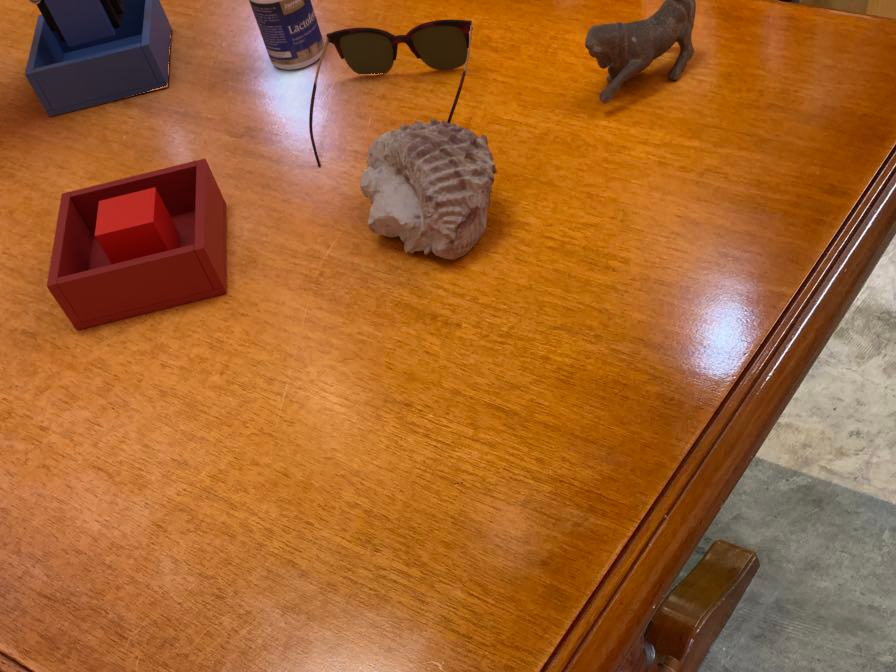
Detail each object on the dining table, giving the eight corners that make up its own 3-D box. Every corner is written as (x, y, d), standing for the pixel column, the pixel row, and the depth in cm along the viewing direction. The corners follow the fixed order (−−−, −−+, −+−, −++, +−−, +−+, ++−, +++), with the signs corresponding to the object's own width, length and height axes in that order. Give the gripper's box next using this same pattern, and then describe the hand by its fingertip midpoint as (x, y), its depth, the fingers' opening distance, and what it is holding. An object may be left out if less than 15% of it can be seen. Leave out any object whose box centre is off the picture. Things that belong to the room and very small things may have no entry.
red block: (122, 283, 85) (94, 235, 81) (126, 248, 88) (98, 200, 84) (178, 269, 85) (153, 221, 81) (180, 235, 88) (155, 186, 84)
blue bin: (48, 117, 105) (24, 74, 101) (60, 56, 112) (38, 14, 109) (168, 87, 105) (148, 44, 101) (172, 28, 112) (153, -14, 109)
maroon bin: (76, 330, 83) (46, 286, 80) (88, 237, 91) (61, 193, 87) (226, 293, 83) (203, 247, 80) (226, 203, 91) (205, 157, 87)
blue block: (69, 47, 104) (43, 0, 100) (73, 24, 107) (48, -23, 103) (115, 35, 104) (91, -13, 100) (117, 13, 107) (94, -34, 103)
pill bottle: (311, 73, 102) (276, -30, 94) (262, 70, 104) (223, -31, 96) (335, 42, 105) (303, -60, 97) (287, 40, 107) (252, -61, 99)
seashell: (327, 173, 86) (362, 62, 80) (421, 181, 92) (462, 78, 85) (398, 289, 80) (443, 179, 73) (495, 290, 86) (545, 189, 79)
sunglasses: (483, 65, 98) (472, 16, 94) (461, 170, 91) (448, 121, 87) (341, 77, 101) (324, 30, 97) (308, 180, 94) (288, 133, 89)
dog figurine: (673, 39, 96) (669, -44, 90) (713, 61, 93) (712, -23, 87) (569, 93, 93) (558, 12, 87) (607, 118, 90) (598, 35, 84)
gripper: (85, -213, 93) (174, -9, 107) (-96, -166, 93) (17, 31, 107) (79, -183, 88) (172, 25, 103) (-113, -134, 88) (8, 67, 103)
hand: (91, 26), depth 105 cm, fingers closed on blue block, 4 cm apart
